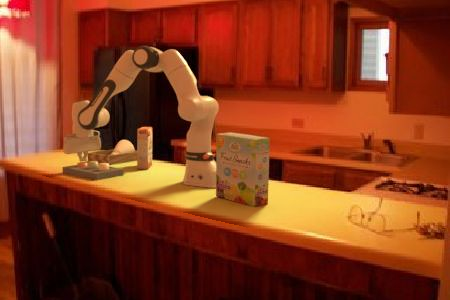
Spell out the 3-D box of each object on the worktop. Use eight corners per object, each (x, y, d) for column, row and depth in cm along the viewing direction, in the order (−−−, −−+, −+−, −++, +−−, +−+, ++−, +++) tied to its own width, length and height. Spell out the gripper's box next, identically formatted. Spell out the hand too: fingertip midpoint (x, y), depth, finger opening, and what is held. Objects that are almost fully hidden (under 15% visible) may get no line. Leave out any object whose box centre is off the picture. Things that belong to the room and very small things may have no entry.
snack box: (213, 197, 197) (214, 133, 194) (229, 193, 203) (230, 131, 200) (254, 207, 182) (255, 138, 178) (269, 203, 188) (271, 136, 184)
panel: (123, 175, 238) (123, 169, 238) (97, 180, 226) (97, 173, 225) (89, 168, 254) (89, 162, 253) (62, 173, 241) (62, 167, 241)
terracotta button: (90, 171, 245) (89, 163, 244) (81, 173, 241) (81, 164, 240) (83, 170, 248) (83, 161, 247) (75, 171, 244) (75, 163, 243)
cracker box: (148, 169, 254) (148, 129, 251) (136, 169, 254) (136, 129, 251) (153, 165, 267) (152, 126, 264) (141, 164, 268) (141, 126, 265)
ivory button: (111, 172, 235) (111, 163, 235) (103, 174, 231) (102, 165, 231) (104, 171, 238) (104, 162, 238) (96, 173, 234) (95, 163, 234)
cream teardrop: (108, 146, 268) (125, 135, 284) (96, 158, 274) (113, 147, 289) (122, 162, 269) (138, 150, 284) (110, 173, 274) (126, 162, 290)
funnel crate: (142, 159, 284) (142, 151, 283) (107, 165, 264) (107, 156, 263) (122, 156, 294) (122, 148, 293) (87, 161, 274) (87, 152, 273)
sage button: (100, 170, 240) (100, 161, 239) (92, 172, 236) (91, 163, 235) (93, 169, 243) (93, 160, 242) (85, 170, 239) (85, 162, 238)
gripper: (67, 135, 231) (69, 164, 233) (102, 132, 248) (103, 159, 250) (59, 134, 235) (60, 163, 237) (94, 131, 251) (95, 158, 253)
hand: (82, 161), depth 243 cm, fingers closed
